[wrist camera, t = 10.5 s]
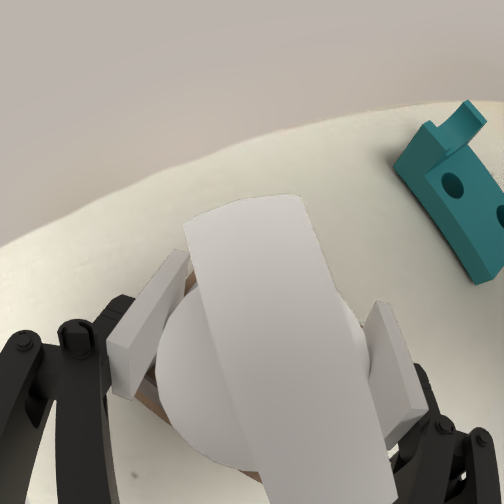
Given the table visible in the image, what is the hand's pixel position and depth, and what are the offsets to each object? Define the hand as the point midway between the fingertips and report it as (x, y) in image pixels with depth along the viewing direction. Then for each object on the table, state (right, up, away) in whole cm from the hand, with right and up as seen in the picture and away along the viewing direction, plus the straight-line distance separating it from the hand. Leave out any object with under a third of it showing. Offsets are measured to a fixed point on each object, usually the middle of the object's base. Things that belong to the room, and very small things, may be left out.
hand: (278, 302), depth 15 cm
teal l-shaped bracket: (+25, +8, +21) cm, 34 cm away
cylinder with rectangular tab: (-1, -4, +3) cm, 6 cm away
